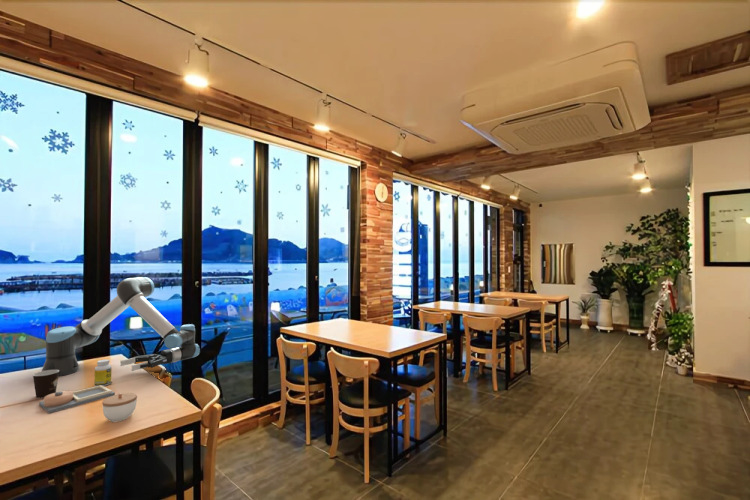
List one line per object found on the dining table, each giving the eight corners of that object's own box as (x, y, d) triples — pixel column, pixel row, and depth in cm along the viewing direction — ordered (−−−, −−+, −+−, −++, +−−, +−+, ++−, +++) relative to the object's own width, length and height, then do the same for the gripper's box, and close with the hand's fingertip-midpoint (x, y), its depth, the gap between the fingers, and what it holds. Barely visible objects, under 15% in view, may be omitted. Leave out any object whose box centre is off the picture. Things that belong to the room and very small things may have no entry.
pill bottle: (104, 387, 166) (104, 362, 166) (90, 387, 166) (91, 362, 166) (114, 382, 172) (115, 358, 173) (101, 382, 173) (102, 358, 173)
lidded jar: (131, 409, 142) (131, 386, 142) (140, 417, 135) (141, 393, 135) (98, 419, 133) (99, 394, 133) (106, 428, 126) (107, 401, 127)
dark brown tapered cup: (42, 399, 151) (43, 376, 151) (27, 398, 153) (27, 375, 153) (70, 389, 163) (71, 368, 163) (56, 388, 164) (56, 367, 165)
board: (39, 404, 146) (39, 392, 146) (102, 388, 164) (102, 377, 164) (49, 413, 138) (49, 400, 138) (114, 395, 156) (114, 383, 156)
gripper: (181, 366, 188) (137, 377, 170) (159, 359, 202) (116, 368, 184) (181, 352, 188) (137, 362, 171) (159, 346, 202) (116, 354, 185)
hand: (126, 365), depth 177 cm, fingers open, 13 cm apart
